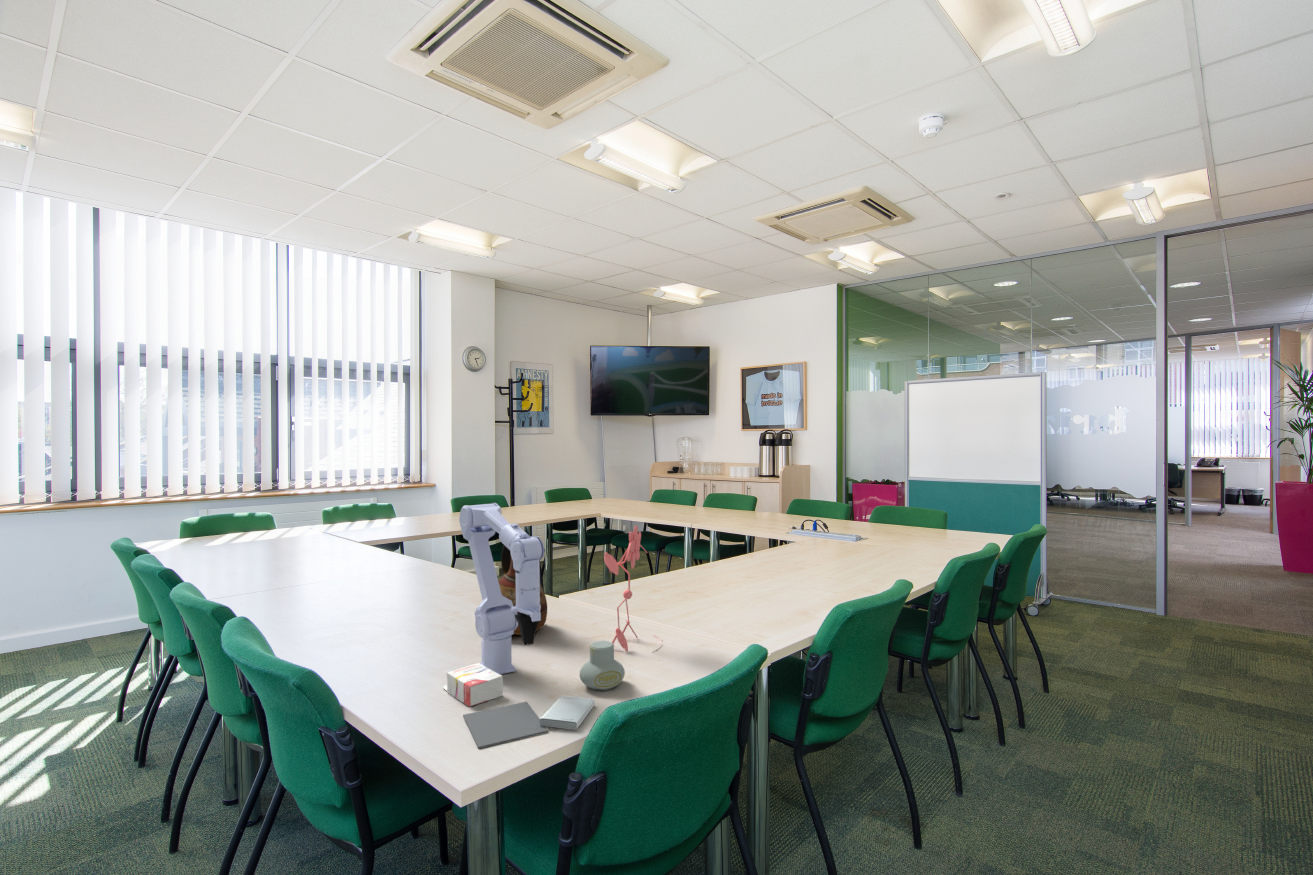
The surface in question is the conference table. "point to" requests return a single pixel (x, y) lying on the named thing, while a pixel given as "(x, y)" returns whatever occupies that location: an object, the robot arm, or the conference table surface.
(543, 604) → the ceramic pitcher
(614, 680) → the air freshener
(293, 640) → the conference table surface
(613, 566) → the pink thin stick figure
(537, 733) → the mat
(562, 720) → the hard drive
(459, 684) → the ink cartridge box
